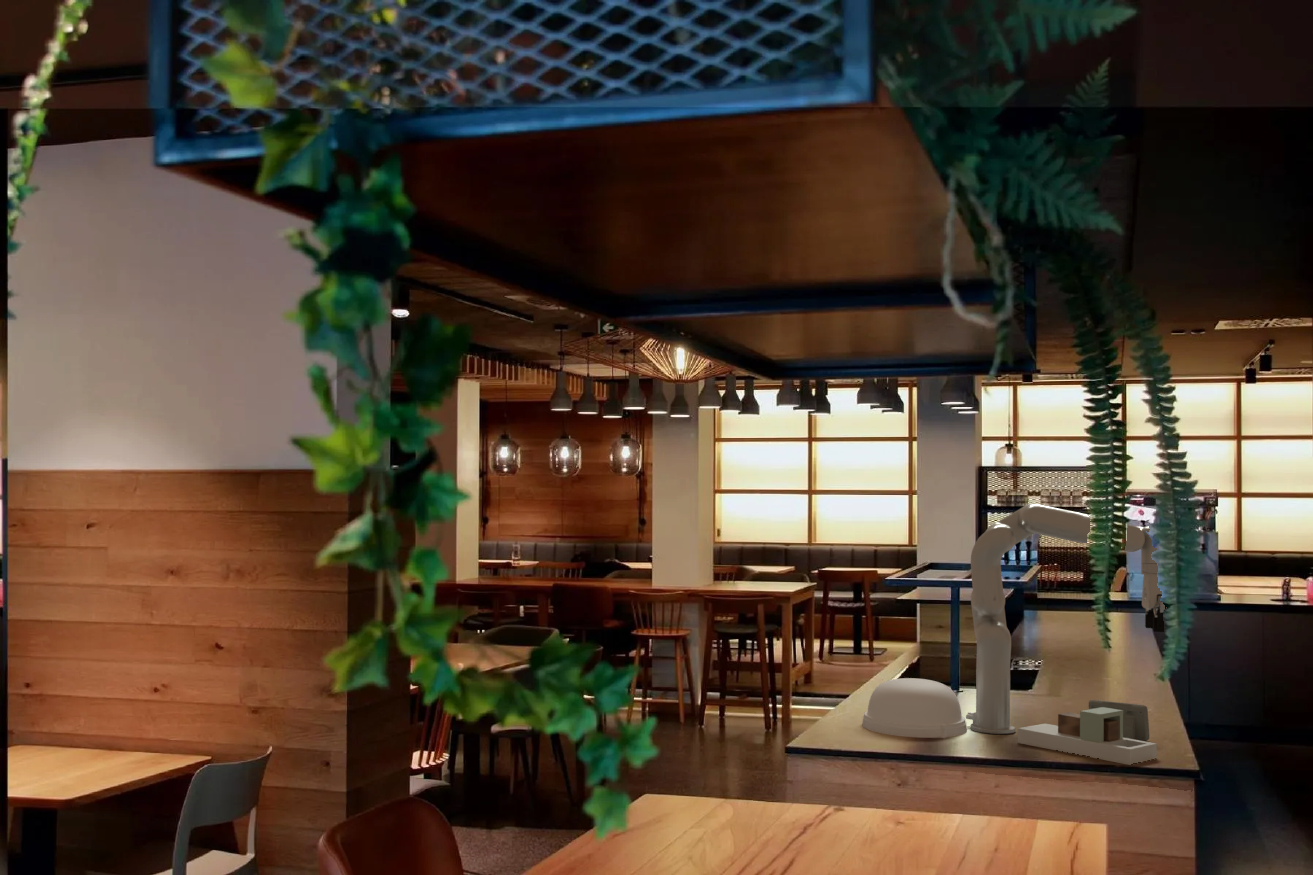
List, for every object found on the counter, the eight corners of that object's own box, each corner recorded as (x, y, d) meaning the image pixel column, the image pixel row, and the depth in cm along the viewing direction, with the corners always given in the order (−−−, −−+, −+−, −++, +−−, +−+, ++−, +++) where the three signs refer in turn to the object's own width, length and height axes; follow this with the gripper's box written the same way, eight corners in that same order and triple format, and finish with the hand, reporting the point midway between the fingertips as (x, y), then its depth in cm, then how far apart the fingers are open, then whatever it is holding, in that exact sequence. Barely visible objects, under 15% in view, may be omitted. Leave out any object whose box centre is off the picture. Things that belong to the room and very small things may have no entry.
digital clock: (1152, 741, 349) (1152, 703, 349) (1139, 745, 342) (1140, 707, 343) (1096, 733, 360) (1096, 696, 360) (1083, 737, 353) (1083, 699, 354)
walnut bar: (1058, 732, 338) (1058, 713, 338) (1068, 730, 341) (1068, 712, 341) (1108, 741, 326) (1108, 722, 326) (1118, 739, 329) (1118, 720, 330)
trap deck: (1017, 742, 343) (1017, 728, 343) (1044, 737, 351) (1044, 723, 351) (1130, 764, 317) (1130, 749, 317) (1156, 758, 325) (1156, 743, 325)
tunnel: (1079, 738, 329) (1080, 710, 330) (1102, 734, 336) (1102, 706, 337) (1100, 742, 325) (1100, 714, 325) (1122, 738, 332) (1123, 710, 332)
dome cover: (842, 720, 372) (842, 673, 373) (927, 716, 383) (927, 670, 384) (899, 741, 342) (899, 690, 343) (990, 736, 353) (990, 686, 354)
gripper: (1134, 567, 363) (1134, 626, 362) (1148, 571, 346) (1148, 632, 345) (1161, 568, 362) (1161, 627, 361) (1176, 571, 345) (1176, 633, 344)
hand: (1155, 629), depth 353 cm, fingers open, 9 cm apart
